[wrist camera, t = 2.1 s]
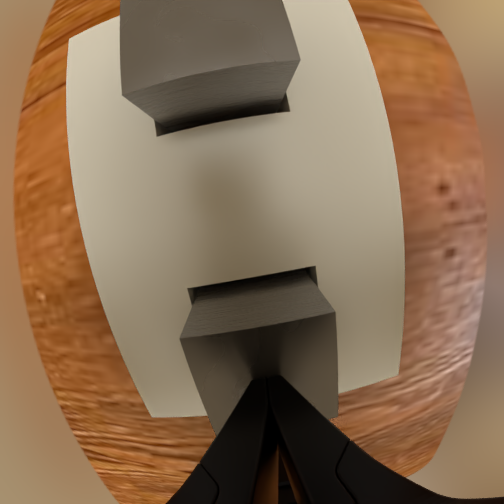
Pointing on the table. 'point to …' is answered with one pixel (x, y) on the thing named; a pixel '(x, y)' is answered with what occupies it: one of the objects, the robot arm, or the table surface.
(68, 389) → the table surface
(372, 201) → the bore block
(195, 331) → the peg
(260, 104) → the peg
